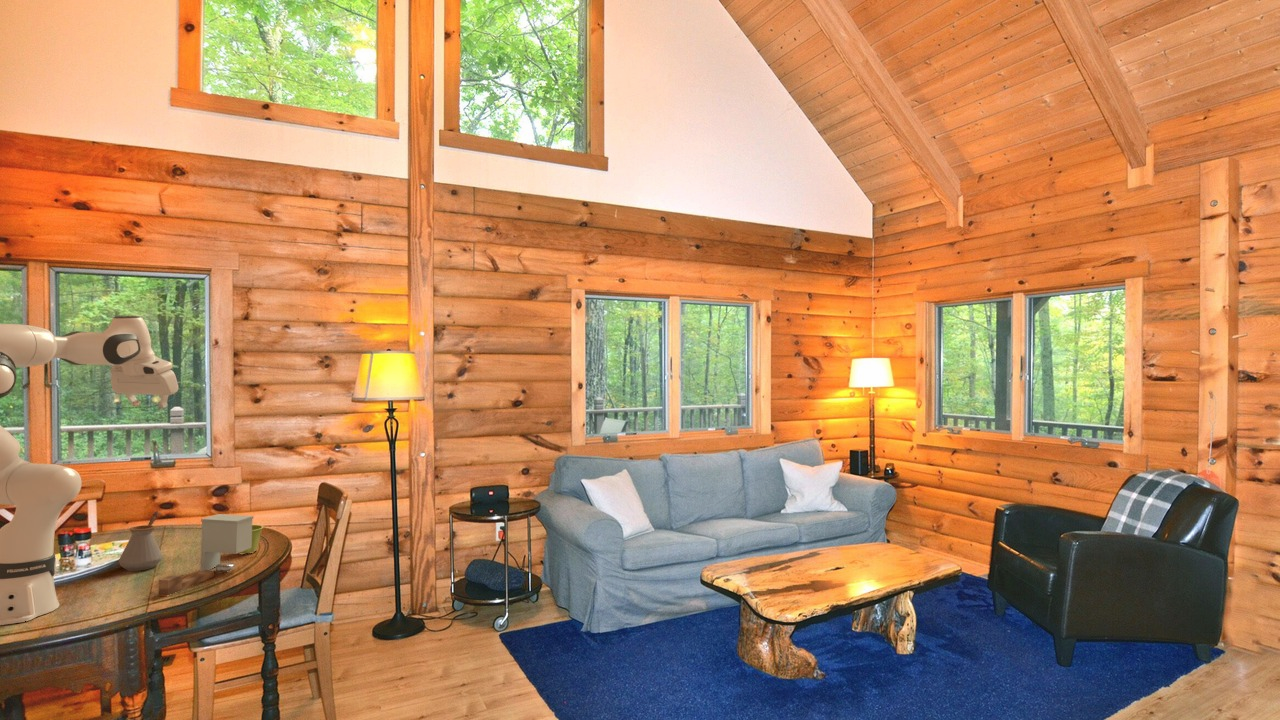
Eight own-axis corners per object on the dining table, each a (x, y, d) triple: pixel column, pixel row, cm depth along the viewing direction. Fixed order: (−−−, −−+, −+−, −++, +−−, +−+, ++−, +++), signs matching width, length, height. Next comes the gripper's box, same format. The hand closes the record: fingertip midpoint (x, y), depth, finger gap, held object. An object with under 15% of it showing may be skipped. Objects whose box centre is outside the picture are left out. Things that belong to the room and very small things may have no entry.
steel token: (217, 574, 210) (217, 568, 210) (214, 570, 213) (214, 564, 213) (235, 571, 213) (235, 565, 213) (231, 567, 217) (232, 561, 217)
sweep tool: (168, 596, 189) (168, 580, 189) (158, 595, 189) (158, 579, 189) (213, 577, 206) (214, 562, 207) (205, 576, 207) (205, 562, 207)
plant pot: (241, 548, 238) (242, 524, 238) (267, 549, 238) (268, 524, 238) (225, 555, 229) (226, 530, 229) (252, 556, 229) (253, 531, 229)
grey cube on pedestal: (235, 574, 209) (237, 521, 209) (199, 572, 211) (201, 519, 211) (251, 567, 217) (253, 516, 217) (216, 565, 218) (218, 514, 218)
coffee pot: (156, 571, 211) (157, 523, 211) (112, 574, 206) (113, 525, 207) (176, 553, 231) (177, 509, 231) (136, 555, 226) (137, 511, 227)
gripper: (100, 367, 206) (111, 409, 211) (160, 369, 204) (171, 411, 208) (117, 361, 212) (128, 401, 216) (176, 363, 210) (186, 403, 214)
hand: (150, 406), depth 212 cm, fingers open, 8 cm apart
